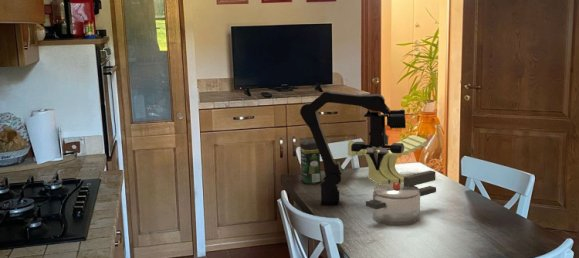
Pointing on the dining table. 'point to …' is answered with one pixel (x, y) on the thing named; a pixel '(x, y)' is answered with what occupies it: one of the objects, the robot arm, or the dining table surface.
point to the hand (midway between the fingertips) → (377, 170)
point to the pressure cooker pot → (398, 208)
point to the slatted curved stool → (389, 160)
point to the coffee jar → (310, 162)
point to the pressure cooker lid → (405, 186)
